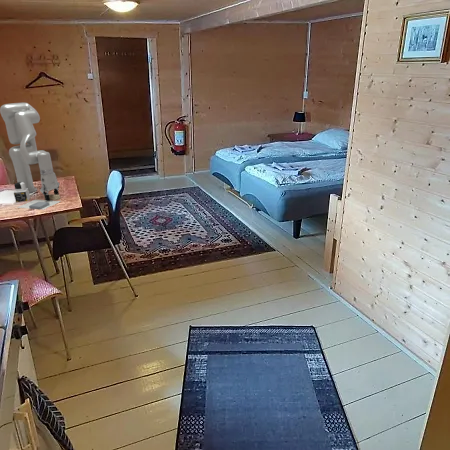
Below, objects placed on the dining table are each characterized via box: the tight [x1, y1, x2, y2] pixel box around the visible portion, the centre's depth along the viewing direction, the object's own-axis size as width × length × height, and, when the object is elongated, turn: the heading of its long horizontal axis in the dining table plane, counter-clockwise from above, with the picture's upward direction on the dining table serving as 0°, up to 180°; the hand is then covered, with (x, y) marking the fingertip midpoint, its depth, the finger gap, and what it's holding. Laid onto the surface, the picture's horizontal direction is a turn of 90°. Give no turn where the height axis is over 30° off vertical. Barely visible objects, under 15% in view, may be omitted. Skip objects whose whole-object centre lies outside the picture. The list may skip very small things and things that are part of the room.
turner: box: [43, 193, 61, 201], centre depth 260 cm, size 16×5×4 cm, turn 72°
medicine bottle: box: [13, 182, 31, 203], centre depth 261 cm, size 7×7×12 cm
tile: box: [28, 202, 49, 210], centre depth 247 cm, size 2×8×8 cm
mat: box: [16, 199, 61, 210], centre depth 252 cm, size 20×16×1 cm
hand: (52, 198), depth 261 cm, fingers open, 8 cm apart
